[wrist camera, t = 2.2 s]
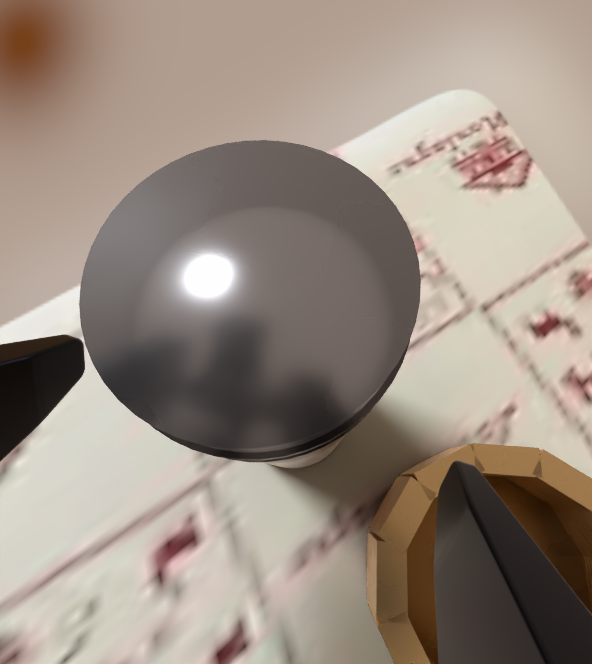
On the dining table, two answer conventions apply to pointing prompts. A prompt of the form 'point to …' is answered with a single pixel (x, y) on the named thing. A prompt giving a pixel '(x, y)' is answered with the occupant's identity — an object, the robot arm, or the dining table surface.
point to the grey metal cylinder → (252, 300)
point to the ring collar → (420, 528)
